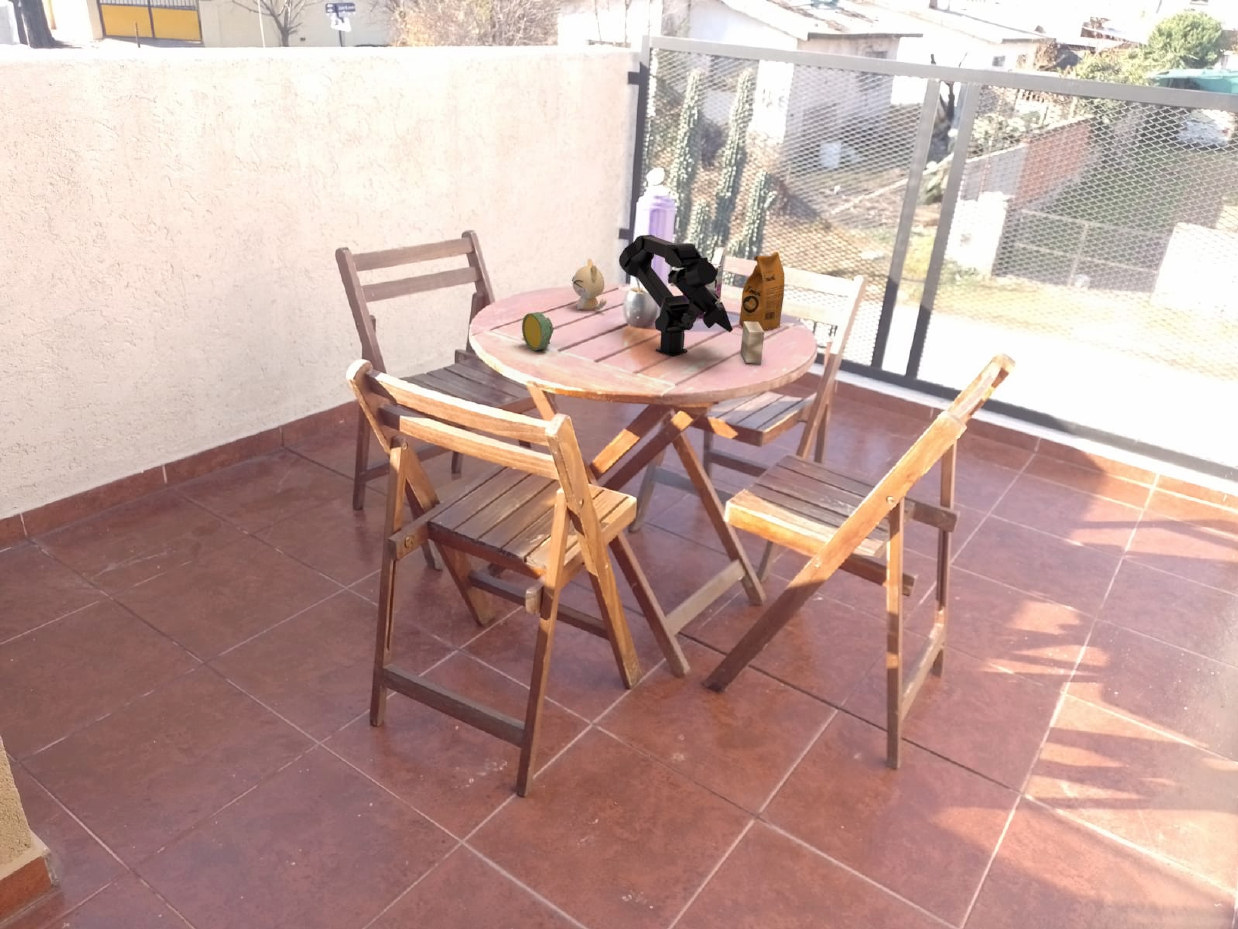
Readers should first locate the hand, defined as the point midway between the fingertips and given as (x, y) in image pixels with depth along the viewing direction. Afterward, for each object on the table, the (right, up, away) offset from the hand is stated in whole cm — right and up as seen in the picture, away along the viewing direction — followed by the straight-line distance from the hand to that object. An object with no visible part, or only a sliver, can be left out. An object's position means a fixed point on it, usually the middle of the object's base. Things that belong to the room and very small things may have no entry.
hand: (731, 330), depth 241 cm
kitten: (-40, +13, +43) cm, 61 cm away
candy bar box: (-5, +11, +41) cm, 43 cm away
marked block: (+6, -7, +3) cm, 10 cm away
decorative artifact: (-51, -4, +5) cm, 51 cm away
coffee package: (+13, +6, +33) cm, 36 cm away
